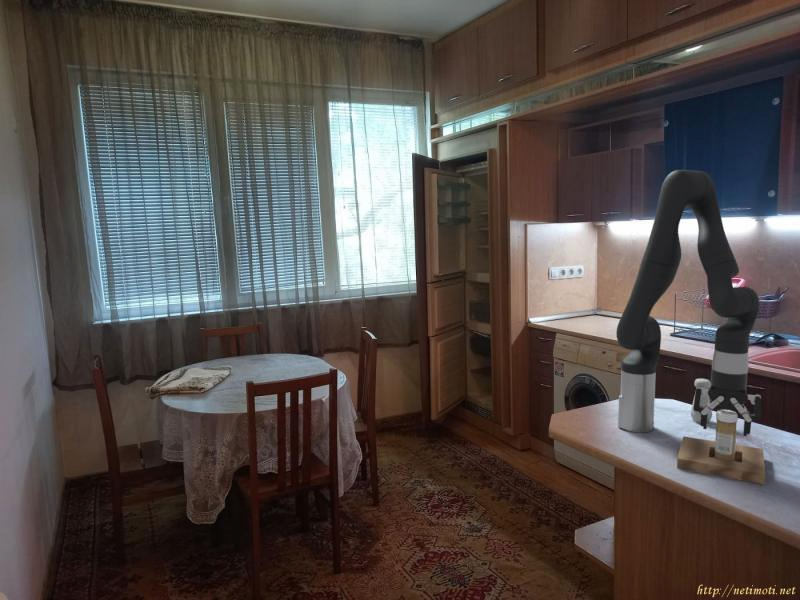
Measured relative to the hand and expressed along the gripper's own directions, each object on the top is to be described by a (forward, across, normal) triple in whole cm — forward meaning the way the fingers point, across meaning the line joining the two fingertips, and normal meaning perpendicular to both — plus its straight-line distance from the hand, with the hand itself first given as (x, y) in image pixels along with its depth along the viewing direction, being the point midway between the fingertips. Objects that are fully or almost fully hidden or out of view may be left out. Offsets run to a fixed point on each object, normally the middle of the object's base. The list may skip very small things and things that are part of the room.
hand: (724, 431), depth 135 cm
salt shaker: (+9, -7, +29) cm, 31 cm away
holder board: (+8, 0, -1) cm, 8 cm away
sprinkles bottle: (+8, 0, -1) cm, 8 cm away
